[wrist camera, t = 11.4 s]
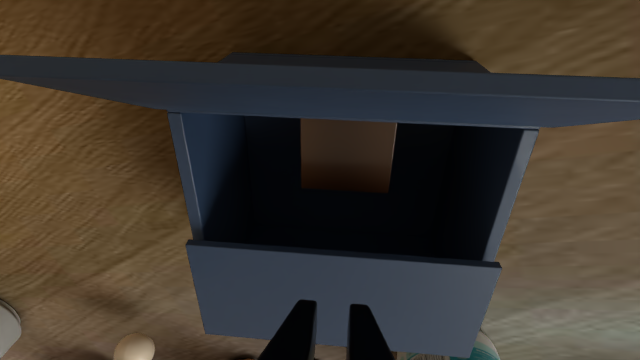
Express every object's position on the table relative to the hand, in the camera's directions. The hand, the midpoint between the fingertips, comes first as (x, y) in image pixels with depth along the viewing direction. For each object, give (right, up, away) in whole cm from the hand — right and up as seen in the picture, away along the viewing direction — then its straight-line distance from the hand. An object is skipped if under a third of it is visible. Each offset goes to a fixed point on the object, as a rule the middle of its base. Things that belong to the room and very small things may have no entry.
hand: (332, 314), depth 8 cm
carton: (+1, +4, +12) cm, 13 cm away
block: (+1, +6, +11) cm, 13 cm away
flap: (0, +5, 0) cm, 5 cm away
